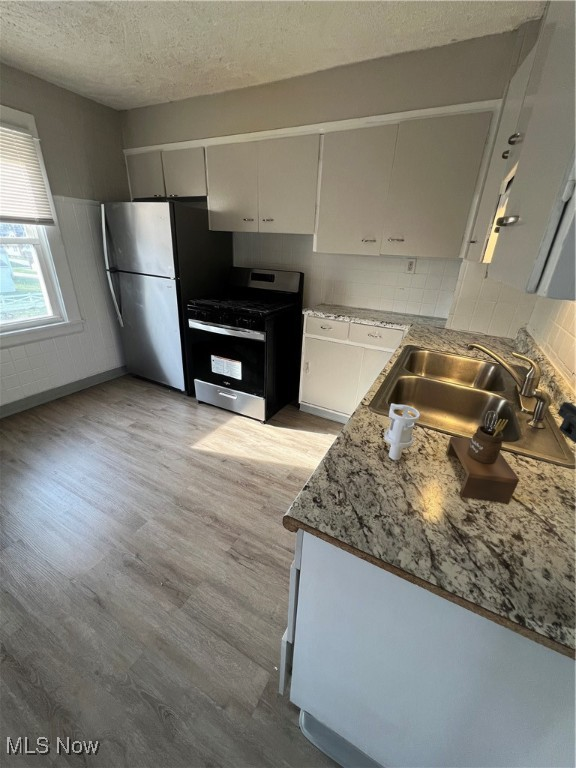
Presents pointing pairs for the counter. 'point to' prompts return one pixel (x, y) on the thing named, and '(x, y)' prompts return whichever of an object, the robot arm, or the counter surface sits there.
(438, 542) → the counter surface
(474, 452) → the utensil holder
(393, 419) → the strainer
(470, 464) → the wooden pedestal stand
